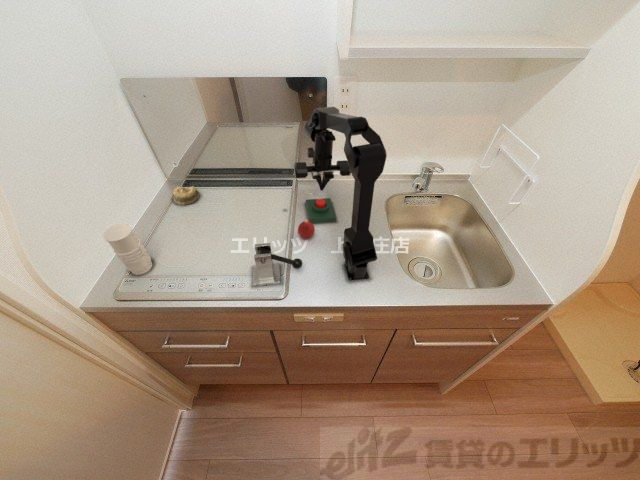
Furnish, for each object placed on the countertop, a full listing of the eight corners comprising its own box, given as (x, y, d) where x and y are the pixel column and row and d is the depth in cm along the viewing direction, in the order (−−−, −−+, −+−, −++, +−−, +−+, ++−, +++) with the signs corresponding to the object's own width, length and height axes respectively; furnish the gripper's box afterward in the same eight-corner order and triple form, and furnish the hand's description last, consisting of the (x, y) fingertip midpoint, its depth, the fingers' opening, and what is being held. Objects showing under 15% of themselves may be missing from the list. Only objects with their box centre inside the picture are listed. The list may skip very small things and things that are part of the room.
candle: (150, 274, 81) (127, 240, 70) (125, 277, 80) (98, 242, 69) (156, 257, 86) (135, 222, 75) (133, 259, 85) (108, 224, 74)
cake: (199, 204, 106) (195, 194, 102) (172, 207, 104) (167, 197, 100) (200, 188, 112) (196, 177, 108) (175, 191, 110) (170, 180, 106)
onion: (312, 244, 93) (312, 227, 87) (296, 241, 93) (295, 224, 87) (315, 233, 97) (316, 216, 91) (300, 230, 97) (300, 213, 91)
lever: (298, 263, 84) (303, 257, 82) (299, 272, 81) (305, 265, 80) (256, 252, 77) (260, 245, 75) (256, 260, 75) (260, 253, 73)
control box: (335, 221, 101) (336, 213, 98) (309, 223, 100) (309, 215, 97) (330, 202, 110) (330, 194, 107) (305, 203, 108) (305, 195, 105)
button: (326, 208, 101) (326, 204, 100) (316, 208, 101) (316, 204, 99) (324, 202, 104) (324, 198, 102) (315, 202, 103) (315, 199, 102)
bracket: (279, 265, 86) (276, 239, 77) (280, 283, 81) (277, 258, 72) (253, 267, 85) (248, 242, 76) (253, 286, 80) (247, 260, 71)
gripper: (346, 137, 93) (342, 176, 104) (292, 138, 90) (293, 178, 101) (354, 152, 85) (348, 193, 96) (295, 155, 82) (296, 196, 94)
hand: (321, 189), depth 97 cm, fingers closed
